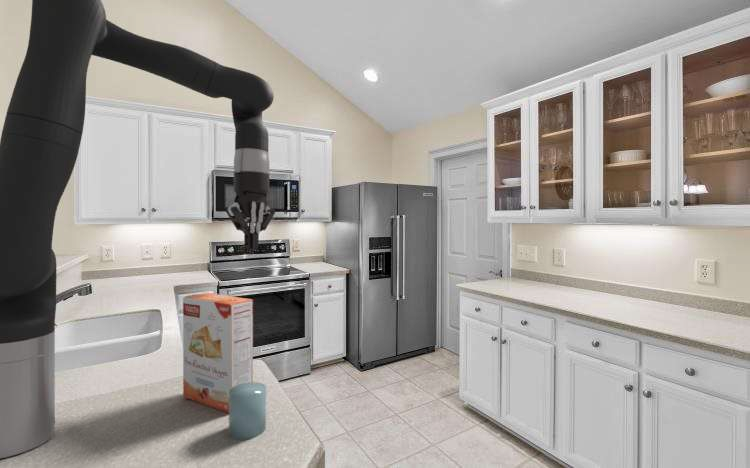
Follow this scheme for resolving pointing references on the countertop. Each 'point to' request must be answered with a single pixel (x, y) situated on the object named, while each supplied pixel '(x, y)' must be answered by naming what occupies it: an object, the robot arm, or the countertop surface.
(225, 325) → the cracker box
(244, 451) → the countertop surface
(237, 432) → the pale blue rounded cylinder
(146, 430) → the countertop surface
